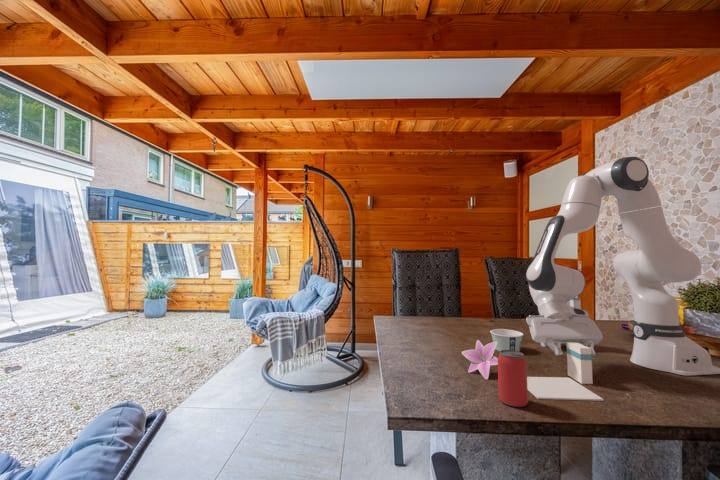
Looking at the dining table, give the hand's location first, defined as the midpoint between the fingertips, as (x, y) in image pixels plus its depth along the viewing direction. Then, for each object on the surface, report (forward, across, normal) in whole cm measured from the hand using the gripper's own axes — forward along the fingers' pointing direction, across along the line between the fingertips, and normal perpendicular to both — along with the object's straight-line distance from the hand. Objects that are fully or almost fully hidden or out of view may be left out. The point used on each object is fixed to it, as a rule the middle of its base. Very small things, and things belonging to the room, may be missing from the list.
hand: (575, 354), depth 92 cm
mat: (+10, -10, -1) cm, 15 cm away
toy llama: (-19, +14, +28) cm, 37 cm away
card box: (+6, 0, +4) cm, 7 cm away
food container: (-16, -9, +26) cm, 31 cm away
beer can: (+17, -26, -7) cm, 32 cm away
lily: (+3, -27, +7) cm, 28 cm away
